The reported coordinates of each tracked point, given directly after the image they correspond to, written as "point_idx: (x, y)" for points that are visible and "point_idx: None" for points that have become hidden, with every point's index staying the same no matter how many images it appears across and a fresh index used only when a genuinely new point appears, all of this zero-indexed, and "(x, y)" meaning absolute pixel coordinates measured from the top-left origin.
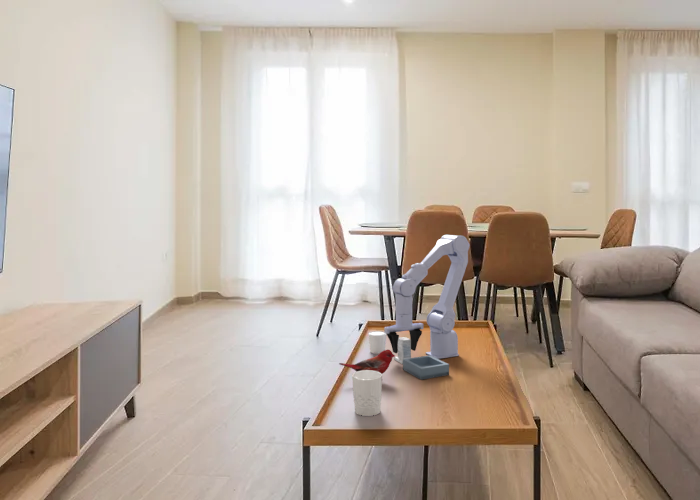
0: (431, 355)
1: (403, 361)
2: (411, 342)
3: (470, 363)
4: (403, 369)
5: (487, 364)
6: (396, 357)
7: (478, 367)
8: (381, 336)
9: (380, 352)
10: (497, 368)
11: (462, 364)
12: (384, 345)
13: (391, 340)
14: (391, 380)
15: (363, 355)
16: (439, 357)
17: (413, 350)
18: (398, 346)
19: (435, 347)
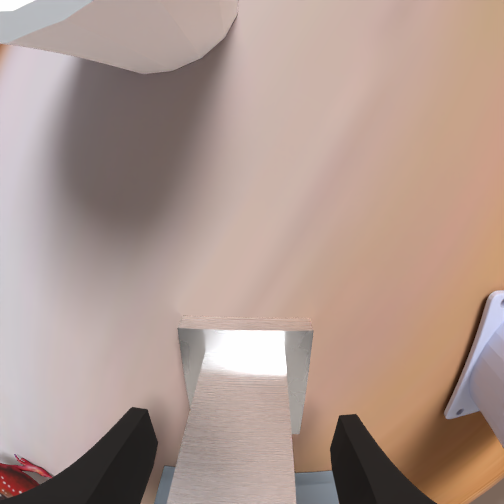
0: (466, 370)
1: (156, 502)
2: (355, 474)
3: (475, 464)
4: (164, 469)
5: (492, 471)
6: (193, 347)
7: (449, 492)
8: (51, 33)
9: (150, 72)
10: (471, 495)
11: (448, 472)
12: (185, 39)
13: (75, 490)
14: None
15: (16, 99)
16: (459, 415)
17: (331, 445)
18: (188, 439)
19: (494, 426)
